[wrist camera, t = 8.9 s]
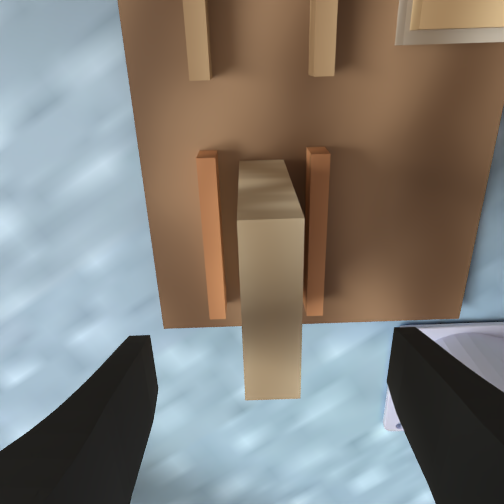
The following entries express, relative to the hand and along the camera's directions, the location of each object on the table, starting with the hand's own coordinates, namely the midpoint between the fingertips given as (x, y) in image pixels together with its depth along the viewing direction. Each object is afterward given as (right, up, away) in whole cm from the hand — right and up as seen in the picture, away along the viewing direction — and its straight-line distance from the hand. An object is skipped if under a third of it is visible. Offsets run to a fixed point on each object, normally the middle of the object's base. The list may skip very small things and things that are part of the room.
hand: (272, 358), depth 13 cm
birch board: (0, +4, +8) cm, 9 cm away
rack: (+2, +10, +7) cm, 12 cm away
